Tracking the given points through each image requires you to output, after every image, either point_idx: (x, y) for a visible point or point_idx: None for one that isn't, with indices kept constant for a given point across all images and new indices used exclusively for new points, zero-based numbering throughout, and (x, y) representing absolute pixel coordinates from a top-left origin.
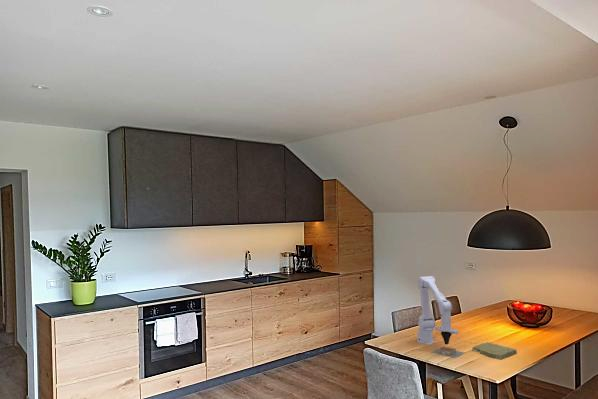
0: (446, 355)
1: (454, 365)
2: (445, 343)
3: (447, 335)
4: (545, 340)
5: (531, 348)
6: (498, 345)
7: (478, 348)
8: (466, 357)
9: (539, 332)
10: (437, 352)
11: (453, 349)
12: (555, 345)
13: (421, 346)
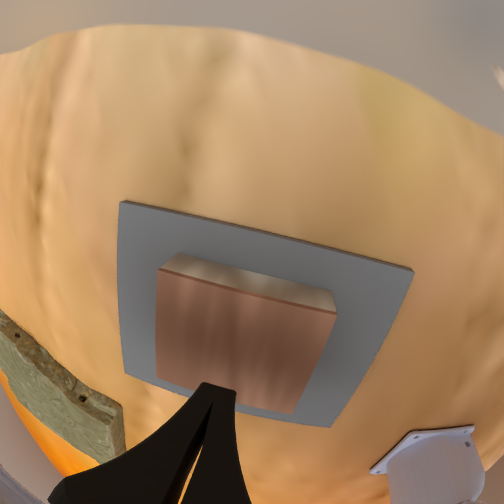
0: (218, 243)
1: (97, 38)
2: (220, 394)
3: (77, 482)
4: (69, 468)
5: (41, 429)
6: (66, 439)
7: (76, 407)
8: (80, 286)
9: None
10: (341, 301)
11: (164, 358)
12: (38, 441)
13: (467, 386)
